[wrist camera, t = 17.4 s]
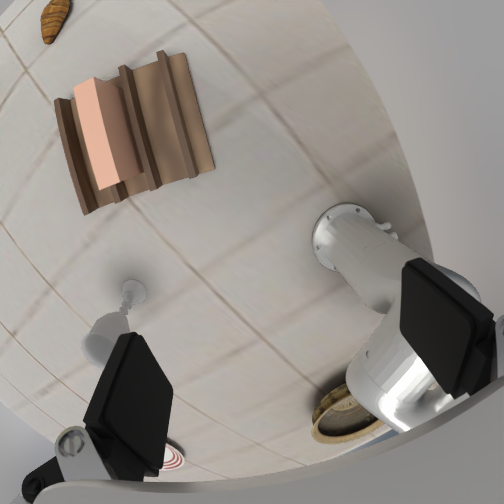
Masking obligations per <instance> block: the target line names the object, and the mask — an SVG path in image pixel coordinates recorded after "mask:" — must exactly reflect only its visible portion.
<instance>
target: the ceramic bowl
mask: <svg viewBox="0 0 504 504" xmlns="http://www.w3.org/2000/svg"><path fill="white" fill-rule="evenodd" d="M312 422H313V428H312V437H313V438H314V440H316V441H317V442H319V443H323V444H341V443H346V442H350V441H353V440H356V439H358V438H360V437H363V436H365V435H367V434H369V433H371V432H373V431H375V430H376V429H378V428H379V427H381V426H382V425H383V424H385V423H384V422H382V421H381V420H380V419H378V418H377V417H376V416H374V415H373V414H372V413H370V412H369V411H368V410H367V409H365V408H364V407H363V406H362V405H361V404H360V403H359V402H358V401H357V400H356V399H355V398H354V397H353V395H352V394H351V392H350V391H349V389H348V386H347V383H345V384H343V385H341V386H339V387H337V388H335V389H334V390H332V391H331V392H330V393H328V394H327V395H326V396H325V397H324V398H323V399H322V400H321V401H320V402H319V403H318V405H317V406H316V408H315V410H314V413H313V417H312Z"/></svg>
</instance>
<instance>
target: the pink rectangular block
mask: <svg viewBox="0 0 504 504" xmlns="http://www.w3.org/2000/svg"><path fill="white" fill-rule="evenodd" d="M73 89H74V94H75V99H76V104H77V109H78V114H79V118H80V123H81V127H82V131H83V135H84V139H85V143H86V147H87V151H88V154H89V158H90V161H91V165H92V168H93V172H94V175H95V178H96V181H97V185H98V188H99V190H101V189H104V188H106V187H108V186H111V185H113V184H116V183H119V182H121V181H124V180H126V179H128V178H131V177H133V176H136V175H138V174H141V173H144V169H143V165H142V162H141V158H140V155H139V151H138V148H137V144H136V140H135V137H134V133H133V129H132V125H131V121H130V117H129V113H128V109H127V105H126V101H125V97H124V92H123V90H122V89H120V88H118V87H115V86H113V85H111V84H109V83H106V82H104V81H102V80H99V79H97V78H95V77H92V78H90V79H88V80H86V81H84V82H83V83H81V84H79V85H77V86H75V87H73Z"/></svg>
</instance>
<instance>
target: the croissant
mask: <svg viewBox="0 0 504 504" xmlns="http://www.w3.org/2000/svg"><path fill="white" fill-rule="evenodd" d="M69 5H70V0H51V1H50V3H49V4H48V5H47V6H46V7H45V8H44V10H43V12H42V15H41V20H40V21H41V32H42V38H43V41H44V43H45V44H51V43H53V41H54V40H55V38H56V37H57V35H58V33H59V31H60V29H61V27H62V24H63V22H64V21H65V18H66V16H67V14H68V10H69Z"/></svg>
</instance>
